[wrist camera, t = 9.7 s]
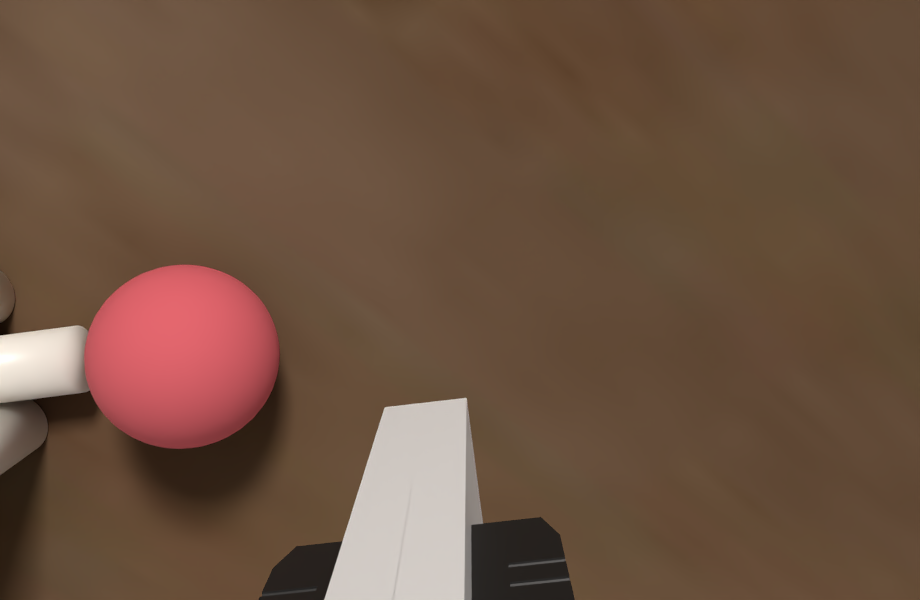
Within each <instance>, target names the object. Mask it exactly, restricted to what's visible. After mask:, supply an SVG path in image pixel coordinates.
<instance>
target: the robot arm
mask: <svg viewBox="0 0 920 600" xmlns="http://www.w3.org/2000/svg"><path fill="white" fill-rule="evenodd" d="M259 600H575V599H574V595H573V591H572V586H571V582H570V578H569V573H568V569H567V564H566V561H565V555H564V551H563V547H562V542H561V538H560V534H559V533H557V532H556V531H555V530H554V529H553V528H552V527H551V526H550V525H549V524H548V523H547V522H545V521H544V520H543V519H542V518H541V517H539V518H530V519H521V520H511V521H502V522H493V523H484V524H483V521H482V513H481V505H480V497H479V490H478V482H477V474H476V467H475V459H474V451H473V444H472V436H471V428H470V421H469V413H468V405H467V398H462V399H453V400H445V401H436V402H427V403H419V404H410V405H401V406H392V407H385V408H384V411H383V414H382V418H381V421H380V424H379V427H378V430H377V434H376V437H375V440H374V443H373V446H372V449H371V453H370V456H369V459H368V462H367V465H366V469H365V472H364V475H363V478H362V481H361V484H360V488H359V491H358V494H357V497H356V500H355V504H354V507H353V510H352V513H351V516H350V520H349V523H348V526H347V529H346V532H345V535H344V539H343V542H333V543H324V544H315V545H306V546H296V547H295V548H294V549H293V550H292V551H291V552H290V553H289V554H288V555H287V556H286V557H285V558H284V559H282V560H281V561H280V562H279V563H278V564H277V565H276V566H275V567H274V568H273V569H272V572H271V574H270V576H269V578H268V580H267V583H266V585H265V587H264V589H263V591H262V597H260V598H259Z"/></svg>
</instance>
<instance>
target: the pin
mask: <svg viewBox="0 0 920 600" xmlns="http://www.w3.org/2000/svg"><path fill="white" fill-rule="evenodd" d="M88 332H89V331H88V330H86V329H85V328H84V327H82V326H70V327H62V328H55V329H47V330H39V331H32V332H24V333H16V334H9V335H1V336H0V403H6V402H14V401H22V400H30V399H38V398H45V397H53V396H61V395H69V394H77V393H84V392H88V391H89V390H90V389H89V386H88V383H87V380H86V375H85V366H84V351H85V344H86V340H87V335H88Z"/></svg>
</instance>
